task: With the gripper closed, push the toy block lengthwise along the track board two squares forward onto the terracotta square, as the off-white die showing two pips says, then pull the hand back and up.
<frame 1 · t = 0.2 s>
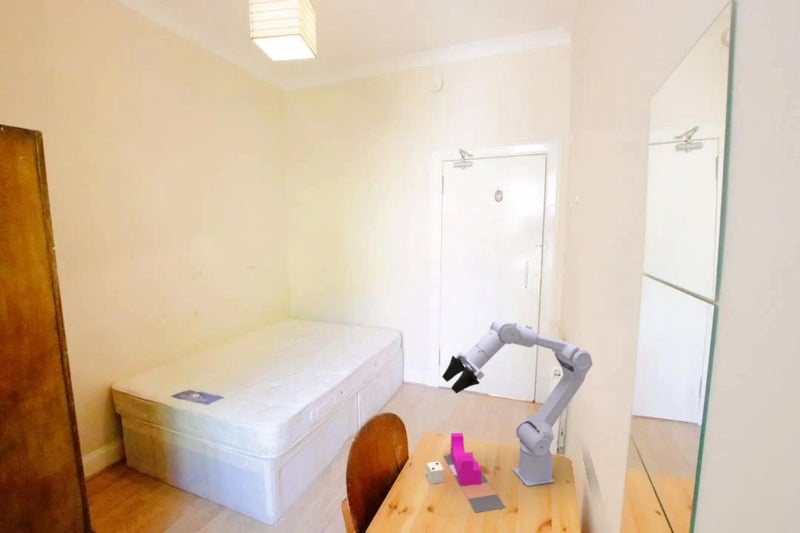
hand: (448, 384, 100), 31 cm above the table, tool tilted 45°, fingers open, 7 cm apart
die: (434, 478, 106), on the table
board: (471, 479, 106), on the table
toy block: (464, 468, 111), resting on board
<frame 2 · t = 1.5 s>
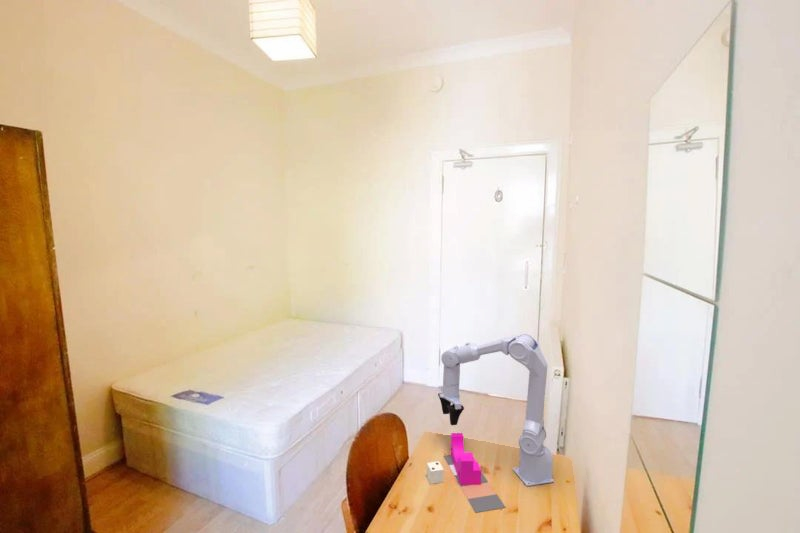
hand: (449, 418, 123), 10 cm above the table, tool pointing down, fingers open, 7 cm apart
nothing on the table moved.
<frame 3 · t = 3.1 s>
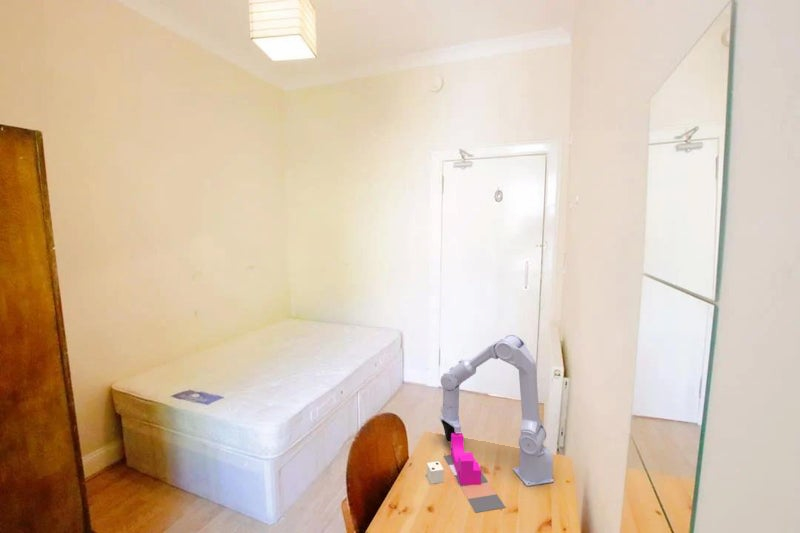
hand: (449, 440, 124), 1 cm above the table, tool pointing down, fingers closed
nothing on the table moved.
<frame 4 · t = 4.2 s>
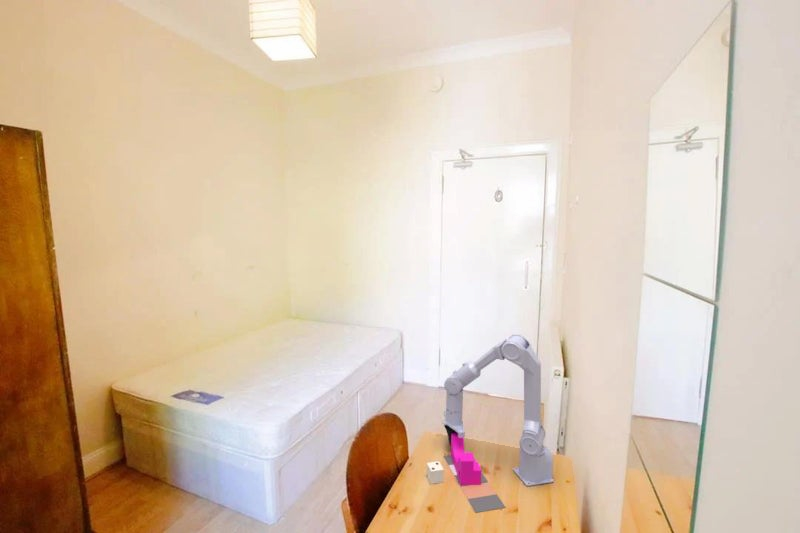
hand: (453, 446, 121), 1 cm above the table, tool pointing down, fingers closed
toy block: (464, 469, 111), resting on board, touching gripper
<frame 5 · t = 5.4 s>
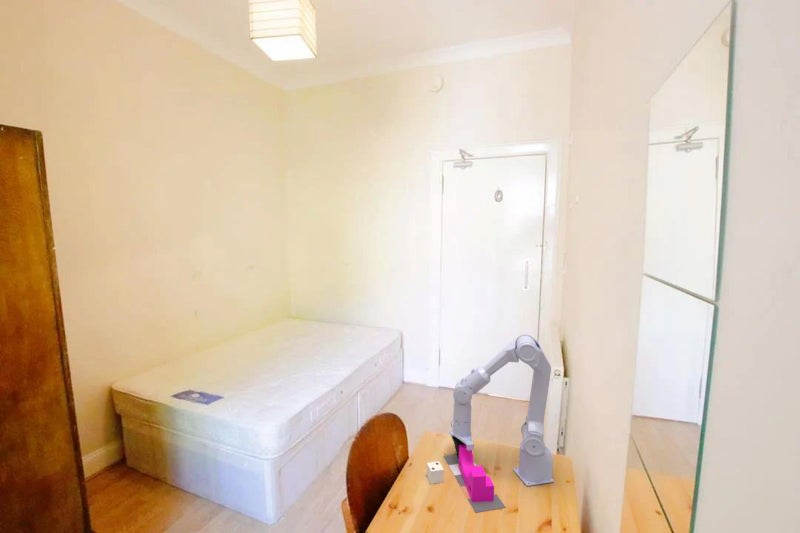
hand: (460, 458, 114), 1 cm above the table, tool pointing down, fingers closed
toy block: (474, 483, 104), resting on board, touching gripper
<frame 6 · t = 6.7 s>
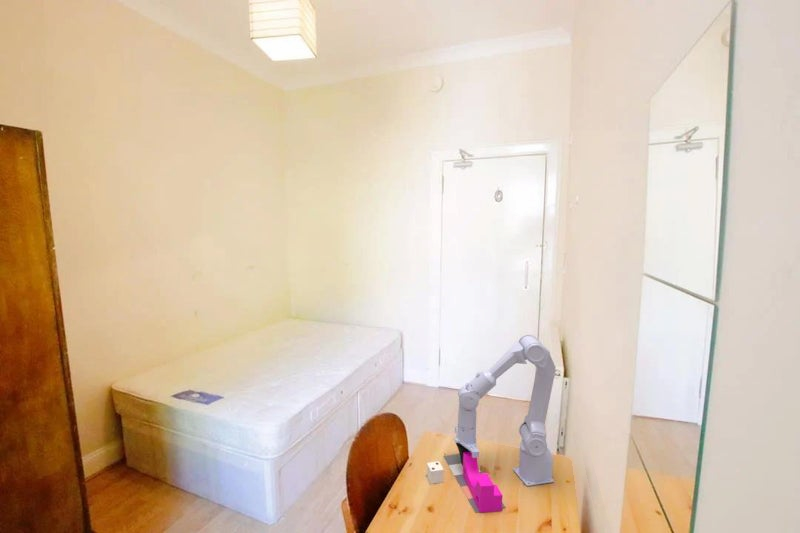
hand: (465, 465, 110), 1 cm above the table, tool pointing down, fingers closed
toy block: (480, 492, 101), resting on board, touching gripper
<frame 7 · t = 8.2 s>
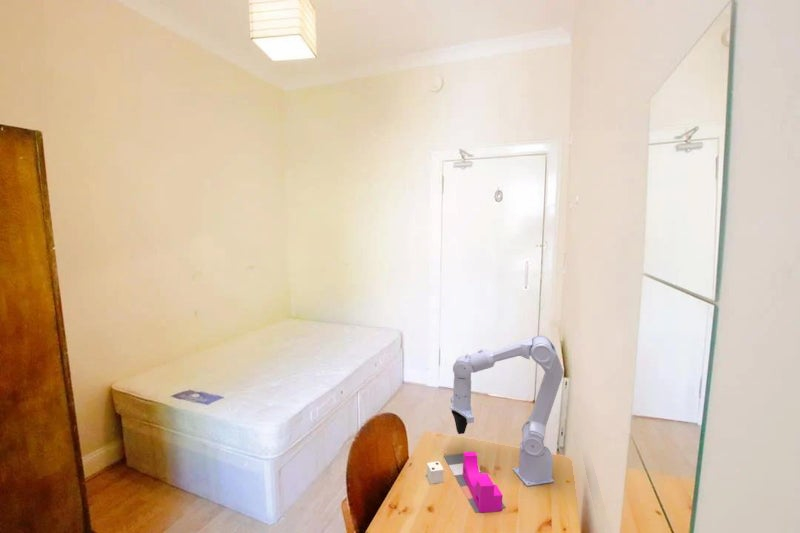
hand: (460, 432, 115), 9 cm above the table, tool pointing down, fingers closed
toy block: (480, 492, 101), resting on board
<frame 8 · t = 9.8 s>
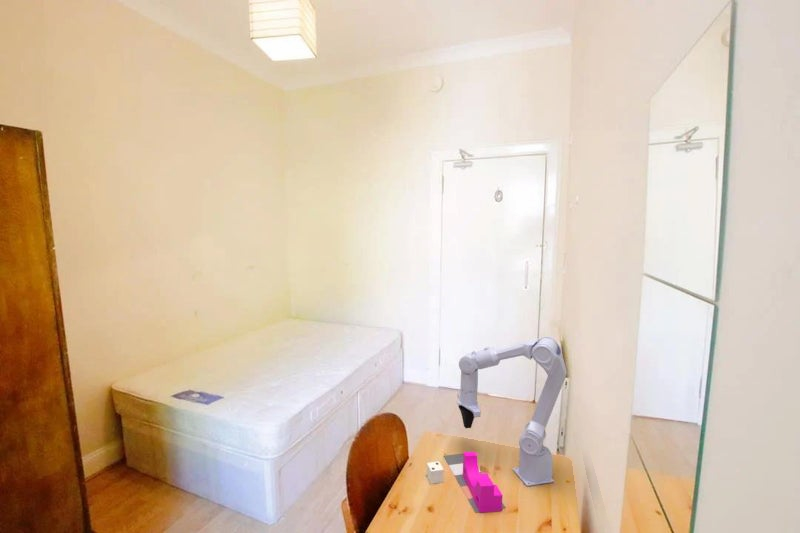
hand: (467, 427, 118), 9 cm above the table, tool pointing down, fingers closed
nothing on the table moved.
at the end: toy block 0.5 cm from the target spot, resting on board; toy block tilted 0°; toy block moved 10.6 cm from its start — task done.
